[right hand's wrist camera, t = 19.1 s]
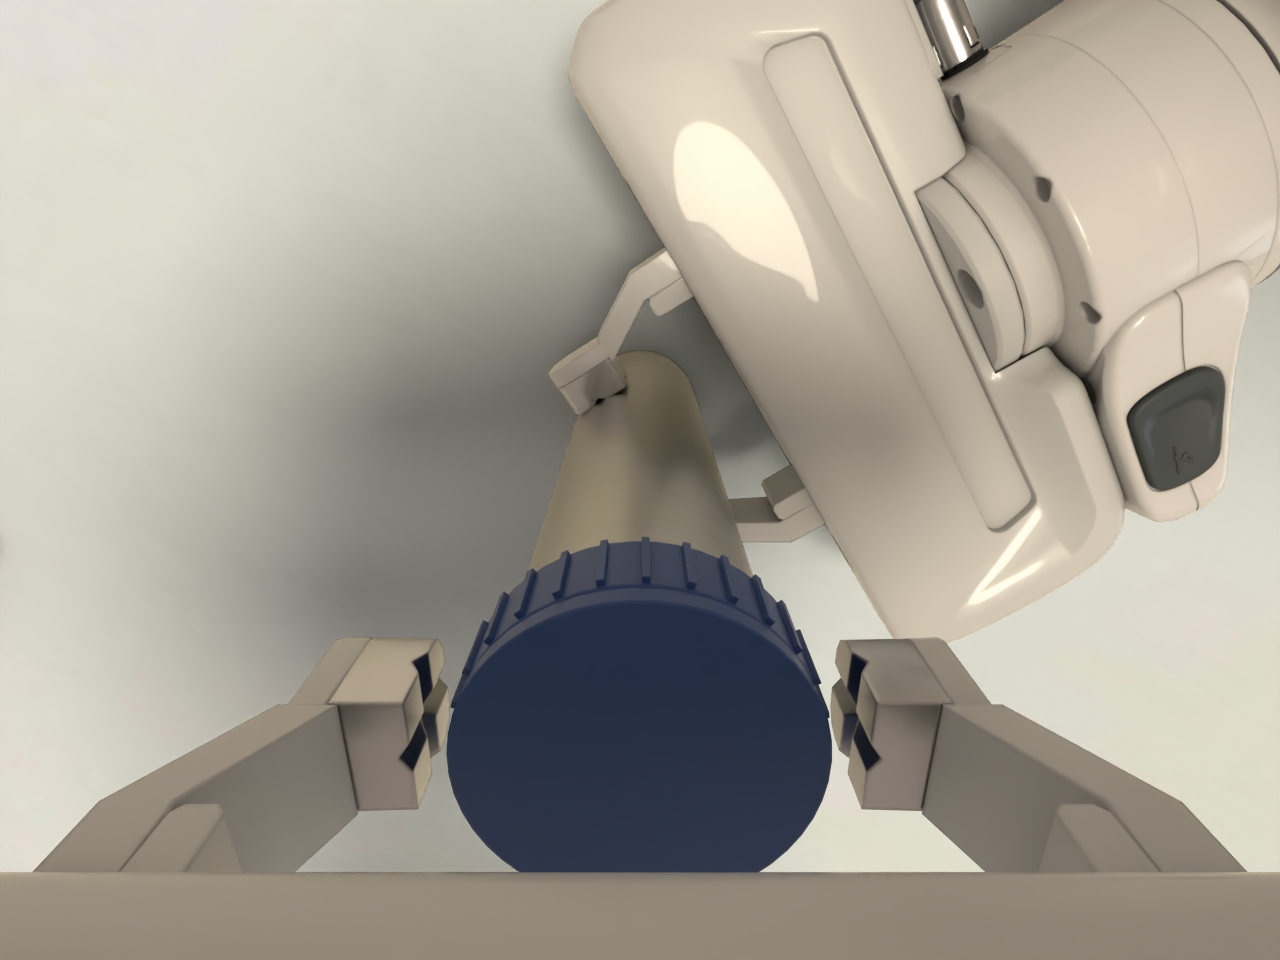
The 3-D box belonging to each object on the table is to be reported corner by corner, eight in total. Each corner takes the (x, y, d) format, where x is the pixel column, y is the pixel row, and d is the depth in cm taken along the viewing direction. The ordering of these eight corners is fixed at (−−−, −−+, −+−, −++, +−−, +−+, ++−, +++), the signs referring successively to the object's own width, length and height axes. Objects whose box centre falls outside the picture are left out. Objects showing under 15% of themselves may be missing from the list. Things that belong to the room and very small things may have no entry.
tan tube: (593, 340, 25) (505, 565, 9) (705, 362, 26) (829, 620, 9) (575, 448, 27) (471, 816, 10) (682, 467, 27) (750, 856, 10)
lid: (540, 843, 11) (524, 941, 10) (415, 589, 10) (372, 660, 8) (838, 772, 11) (871, 864, 9) (762, 490, 9) (787, 545, 8)
